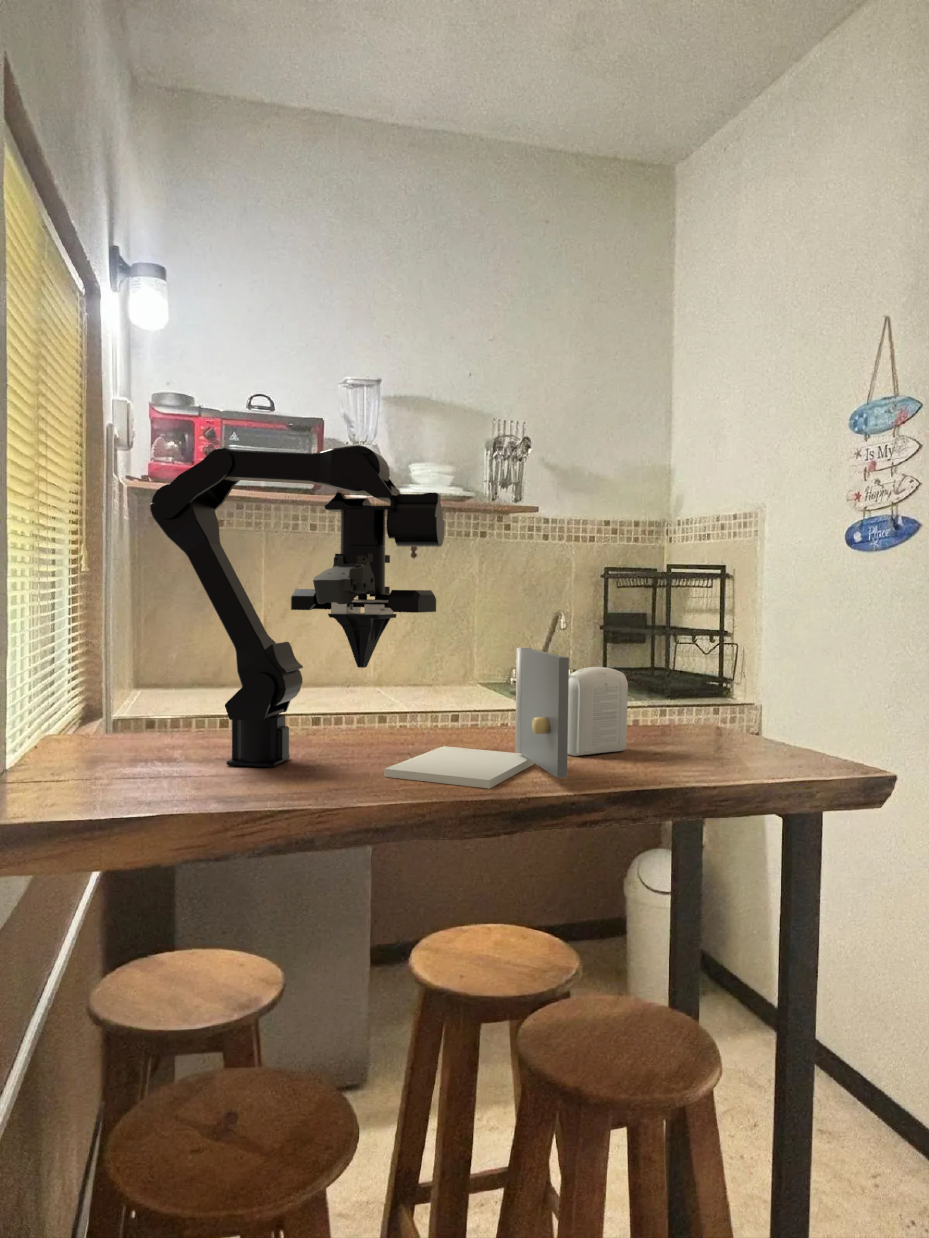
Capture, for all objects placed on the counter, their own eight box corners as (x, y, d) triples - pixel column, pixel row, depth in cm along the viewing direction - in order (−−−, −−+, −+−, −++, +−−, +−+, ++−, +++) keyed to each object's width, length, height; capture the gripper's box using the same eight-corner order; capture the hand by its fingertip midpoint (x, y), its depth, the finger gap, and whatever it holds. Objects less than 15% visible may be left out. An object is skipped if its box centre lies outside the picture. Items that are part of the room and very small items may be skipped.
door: (544, 778, 99) (545, 657, 98) (504, 750, 115) (506, 647, 115) (570, 777, 100) (572, 657, 99) (527, 750, 116) (529, 647, 116)
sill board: (384, 776, 106) (384, 768, 106) (443, 753, 121) (443, 746, 121) (489, 788, 100) (489, 779, 100) (536, 762, 115) (536, 754, 115)
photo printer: (610, 746, 128) (612, 664, 128) (631, 751, 124) (632, 666, 124) (557, 753, 122) (558, 667, 122) (577, 758, 119) (578, 669, 118)
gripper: (264, 544, 106) (264, 669, 107) (397, 542, 99) (396, 676, 99) (315, 548, 117) (314, 662, 117) (438, 547, 109) (437, 668, 110)
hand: (362, 667), depth 111 cm, fingers closed
